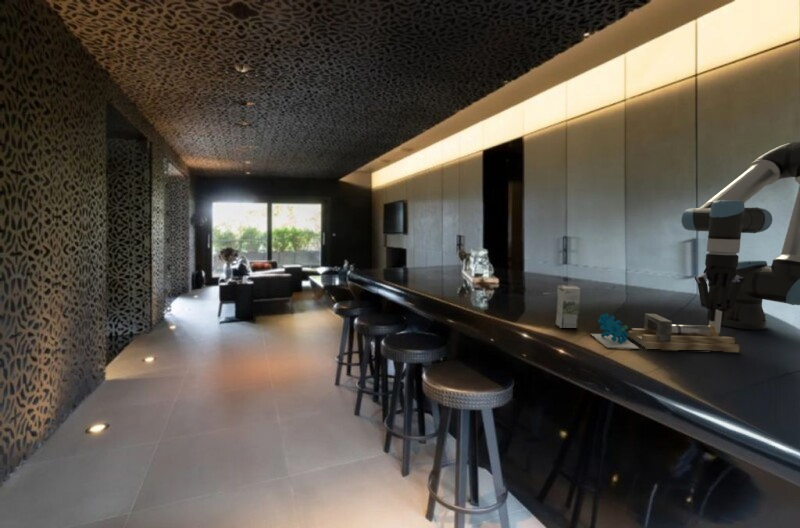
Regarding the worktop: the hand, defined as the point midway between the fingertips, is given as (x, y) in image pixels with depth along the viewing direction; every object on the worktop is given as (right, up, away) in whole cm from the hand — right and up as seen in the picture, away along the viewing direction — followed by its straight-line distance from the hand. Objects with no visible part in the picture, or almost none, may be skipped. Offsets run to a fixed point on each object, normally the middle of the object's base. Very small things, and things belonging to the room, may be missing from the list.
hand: (714, 331), depth 120 cm
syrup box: (-36, -2, +20) cm, 41 cm away
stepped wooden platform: (-9, -4, +2) cm, 10 cm away
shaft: (-8, -2, +1) cm, 8 cm away
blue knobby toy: (-28, -3, +4) cm, 29 cm away
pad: (-29, -4, +3) cm, 29 cm away
